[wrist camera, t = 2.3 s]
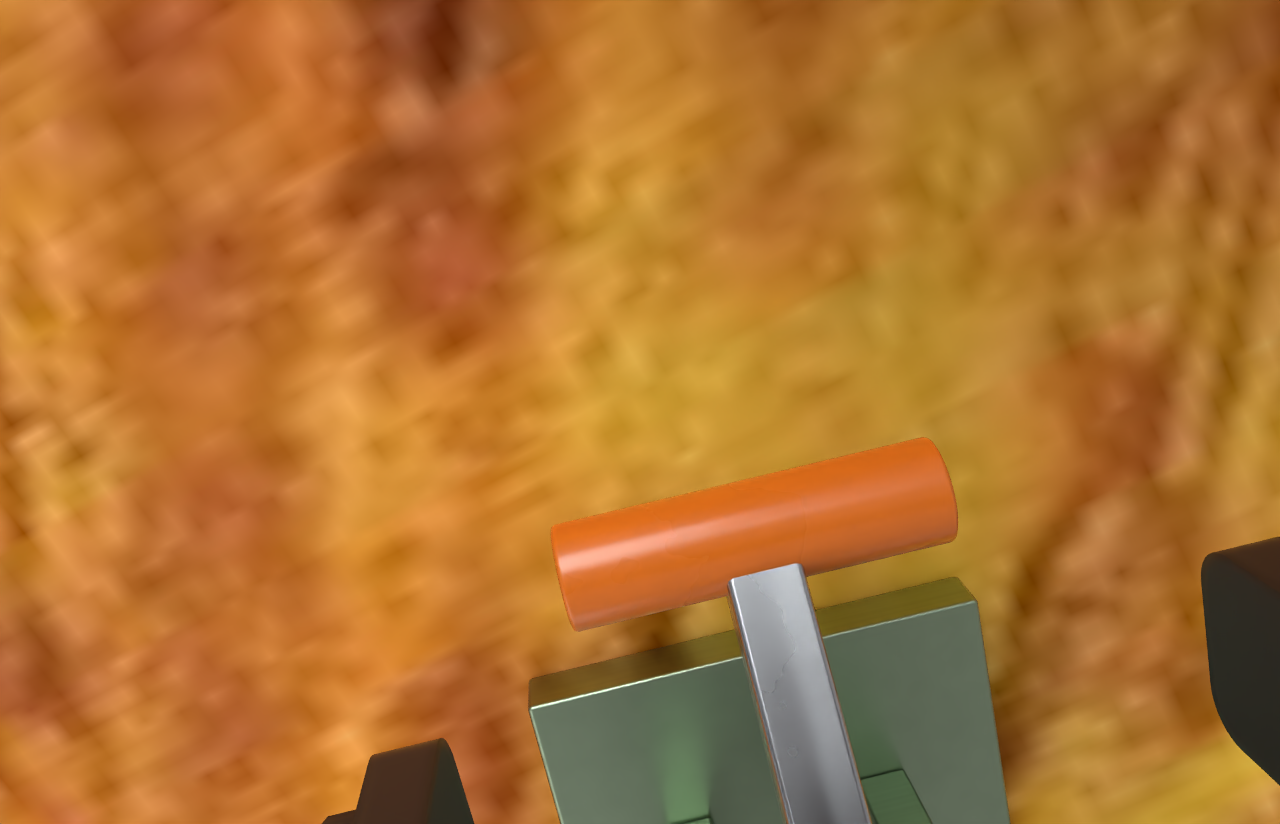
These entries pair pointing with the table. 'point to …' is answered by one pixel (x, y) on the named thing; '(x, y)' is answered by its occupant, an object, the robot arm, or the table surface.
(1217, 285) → the table surface
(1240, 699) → the robot arm
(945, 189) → the table surface
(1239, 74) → the table surface
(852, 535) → the lever
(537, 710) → the bracket
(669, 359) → the table surface
